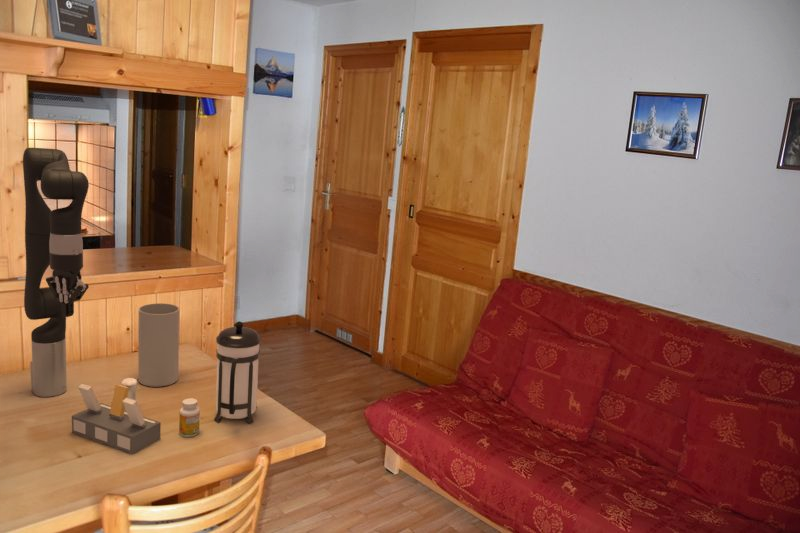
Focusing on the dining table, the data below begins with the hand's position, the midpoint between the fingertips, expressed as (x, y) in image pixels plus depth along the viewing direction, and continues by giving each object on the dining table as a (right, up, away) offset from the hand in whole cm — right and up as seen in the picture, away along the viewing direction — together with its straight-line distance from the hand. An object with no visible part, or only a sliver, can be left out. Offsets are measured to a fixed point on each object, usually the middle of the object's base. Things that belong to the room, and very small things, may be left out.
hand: (67, 315), depth 169 cm
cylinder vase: (+5, -26, +50) cm, 56 cm away
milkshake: (+4, -30, +29) cm, 42 cm away
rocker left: (+1, -27, +13) cm, 30 cm away
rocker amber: (+8, -28, +10) cm, 31 cm away
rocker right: (+15, -30, +8) cm, 34 cm away
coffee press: (+36, -33, +29) cm, 57 cm away
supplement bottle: (+26, -35, +17) cm, 47 cm away
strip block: (+7, -34, +12) cm, 37 cm away
